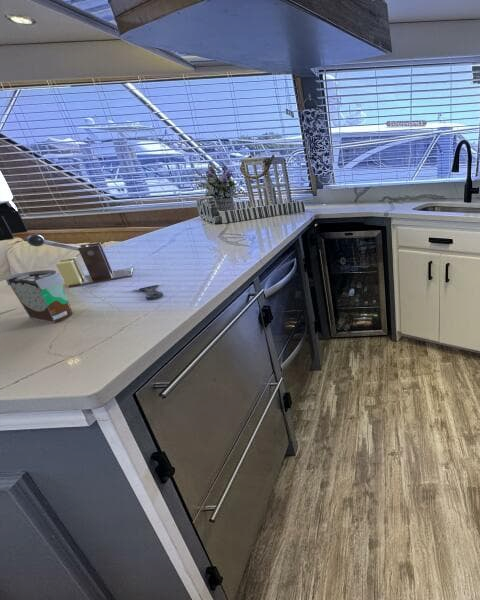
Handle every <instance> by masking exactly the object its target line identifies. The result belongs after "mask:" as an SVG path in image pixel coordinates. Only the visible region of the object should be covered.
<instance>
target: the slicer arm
mask: <svg viewBox="0 0 480 600" xmlns="http://www.w3.org/2000/svg"><path fill="white" fill-rule="evenodd" d="M26 242H27V244H29V246H32V247H42V246H44V245H45V246H52V247H57V248H61V249H68V250H73V251H78V252H79V250H78V247H79V246H78V245H73V244H67V243H63V242H58V241H53V240H47V239H45V238H44V237H43V236H42V235H41V234H36V233H34V234H29V235H28V236H27V237H26Z"/></svg>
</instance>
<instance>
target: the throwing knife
mask: <svg viewBox="0 0 480 600" xmlns="http://www.w3.org/2000/svg"><path fill="white" fill-rule="evenodd" d="M158 287H159V285H158V284H155V285H150V286H144V287H140V288H138V291H141V292H145V293H146V296H145V298H146V300H156V299H159V298H162V297H163V296H164V293H163V292H162V291H158V290H157V288H158Z"/></svg>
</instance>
